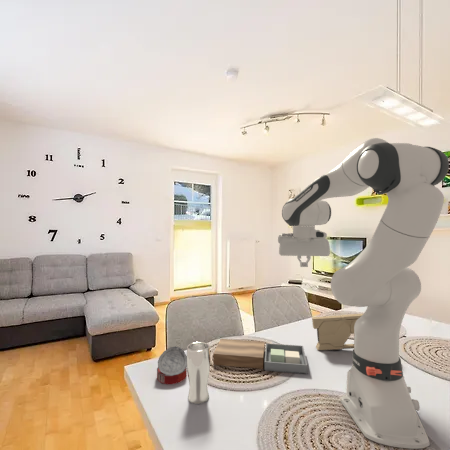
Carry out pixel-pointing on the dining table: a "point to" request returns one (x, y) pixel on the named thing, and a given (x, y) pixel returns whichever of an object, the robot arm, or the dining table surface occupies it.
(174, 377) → the canned food
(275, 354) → the tile
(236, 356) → the wooden block
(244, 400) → the dining table surface
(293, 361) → the tile
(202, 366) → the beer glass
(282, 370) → the tray
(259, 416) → the dining table surface
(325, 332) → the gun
